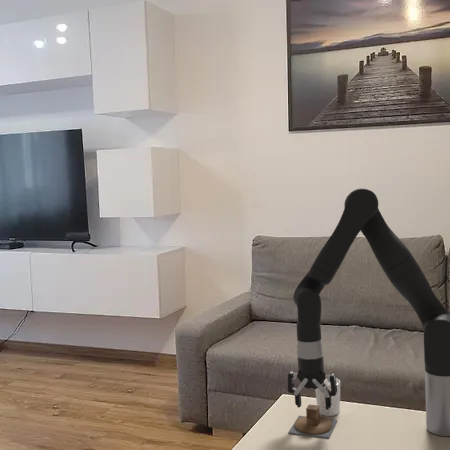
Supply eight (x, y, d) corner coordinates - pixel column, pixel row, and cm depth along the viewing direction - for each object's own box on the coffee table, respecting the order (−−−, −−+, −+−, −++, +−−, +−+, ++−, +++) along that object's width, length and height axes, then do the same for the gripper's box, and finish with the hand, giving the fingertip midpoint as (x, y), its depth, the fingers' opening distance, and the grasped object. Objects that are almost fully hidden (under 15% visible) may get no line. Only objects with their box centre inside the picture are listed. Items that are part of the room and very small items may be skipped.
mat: (337, 421, 177) (337, 419, 177) (329, 438, 166) (329, 437, 166) (299, 416, 181) (298, 415, 181) (288, 433, 170) (288, 432, 170)
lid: (335, 420, 176) (335, 401, 176) (328, 436, 166) (327, 416, 166) (300, 416, 181) (299, 398, 180) (290, 431, 170) (289, 412, 170)
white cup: (343, 416, 180) (342, 385, 179) (317, 417, 180) (316, 386, 179) (339, 406, 188) (337, 376, 187) (314, 407, 188) (313, 377, 187)
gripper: (336, 351, 172) (339, 404, 173) (290, 349, 177) (293, 400, 179) (331, 359, 165) (334, 414, 166) (283, 356, 170) (286, 410, 172)
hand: (313, 407), depth 173 cm, fingers open, 8 cm apart
